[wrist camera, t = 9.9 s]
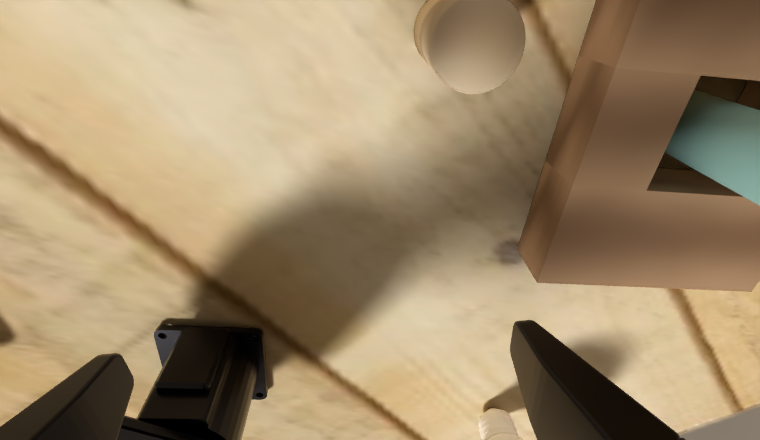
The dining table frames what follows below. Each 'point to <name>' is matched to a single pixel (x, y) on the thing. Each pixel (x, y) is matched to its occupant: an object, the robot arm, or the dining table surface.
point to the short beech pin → (470, 42)
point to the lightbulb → (497, 426)
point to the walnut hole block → (645, 155)
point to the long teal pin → (720, 142)
